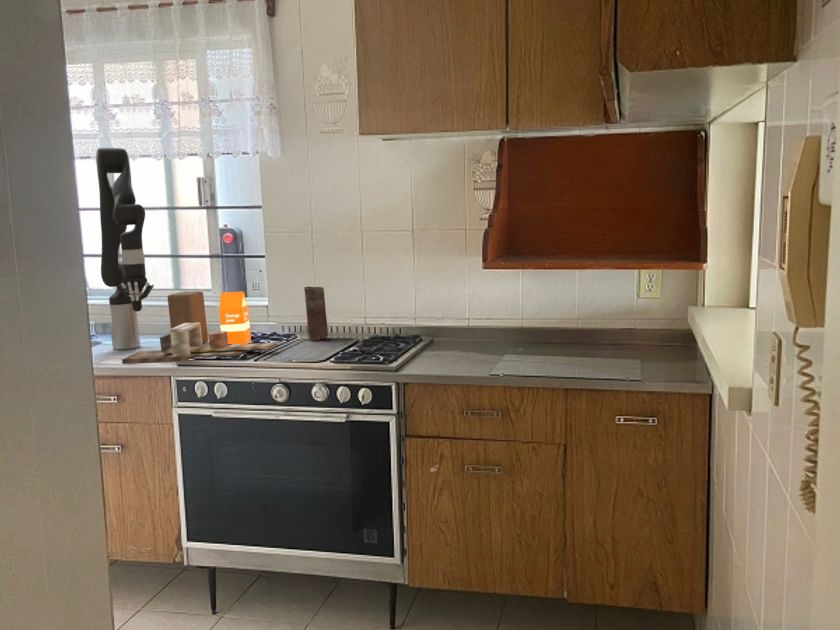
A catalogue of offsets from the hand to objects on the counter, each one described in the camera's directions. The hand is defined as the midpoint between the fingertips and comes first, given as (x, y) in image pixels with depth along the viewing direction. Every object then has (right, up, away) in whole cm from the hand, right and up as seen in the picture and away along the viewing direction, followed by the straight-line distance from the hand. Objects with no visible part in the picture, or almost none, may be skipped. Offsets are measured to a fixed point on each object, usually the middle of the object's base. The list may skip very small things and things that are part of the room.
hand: (137, 311), depth 281 cm
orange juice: (+31, -13, +16) cm, 37 cm away
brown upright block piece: (+62, -11, +17) cm, 65 cm away
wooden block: (+12, -13, +23) cm, 29 cm away
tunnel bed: (+18, -16, 0) cm, 24 cm away
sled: (+29, -13, -2) cm, 32 cm away
